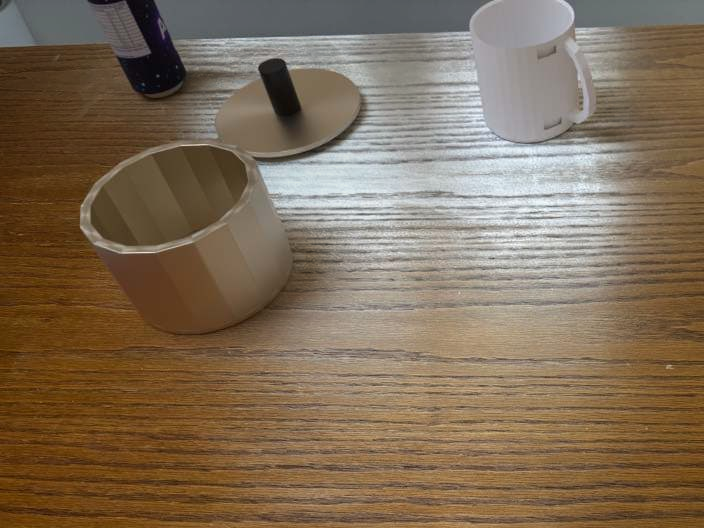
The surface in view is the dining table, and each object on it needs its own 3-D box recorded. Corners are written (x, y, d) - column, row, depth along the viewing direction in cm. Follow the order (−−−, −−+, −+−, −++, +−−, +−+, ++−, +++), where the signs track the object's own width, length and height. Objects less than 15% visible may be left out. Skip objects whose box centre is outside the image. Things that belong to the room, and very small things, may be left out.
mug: (465, 116, 80) (448, 21, 73) (539, 77, 83) (530, -18, 76) (544, 171, 74) (534, 74, 67) (621, 127, 77) (619, 29, 70)
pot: (99, 308, 68) (41, 226, 62) (205, 208, 75) (163, 125, 68) (224, 354, 64) (176, 272, 57) (324, 243, 71) (292, 159, 64)
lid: (189, 145, 81) (163, 93, 77) (277, 68, 89) (259, 16, 84) (306, 176, 77) (286, 123, 72) (389, 92, 84) (376, 38, 80)
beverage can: (196, 88, 88) (143, -28, 78) (143, 108, 86) (82, -9, 77) (181, 65, 91) (129, -50, 81) (130, 84, 89) (70, -31, 80)
